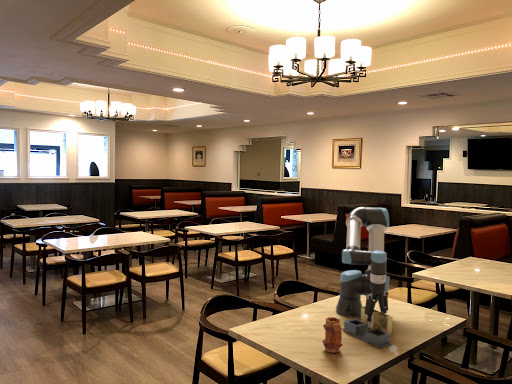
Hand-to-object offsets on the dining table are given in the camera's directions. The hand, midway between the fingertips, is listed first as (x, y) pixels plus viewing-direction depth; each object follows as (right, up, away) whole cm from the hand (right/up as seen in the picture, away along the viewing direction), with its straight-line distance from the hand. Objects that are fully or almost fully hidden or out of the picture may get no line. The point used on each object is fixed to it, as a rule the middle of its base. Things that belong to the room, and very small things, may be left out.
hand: (375, 326), depth 210 cm
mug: (-27, -3, -28) cm, 39 cm away
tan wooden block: (0, -2, 0) cm, 2 cm away
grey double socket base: (-8, -2, -10) cm, 13 cm away
